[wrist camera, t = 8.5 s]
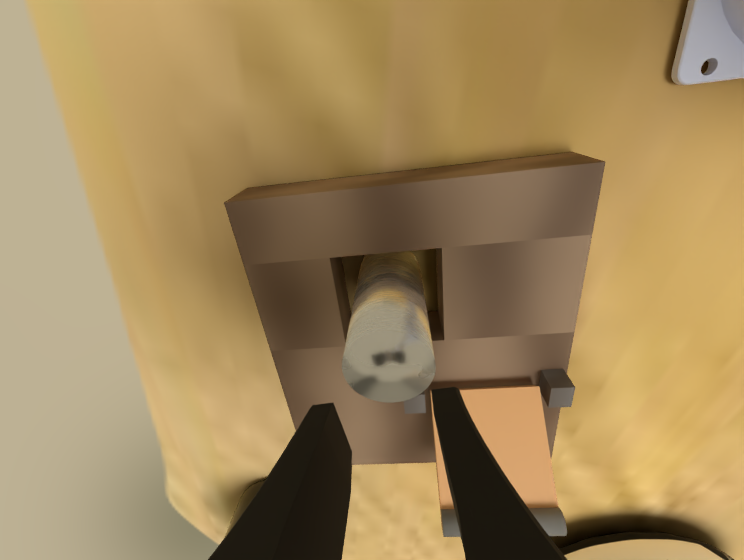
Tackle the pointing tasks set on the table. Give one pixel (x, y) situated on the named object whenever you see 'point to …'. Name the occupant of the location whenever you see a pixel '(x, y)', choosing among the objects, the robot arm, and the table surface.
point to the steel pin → (389, 330)
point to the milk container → (642, 548)
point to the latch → (509, 451)
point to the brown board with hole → (454, 282)
